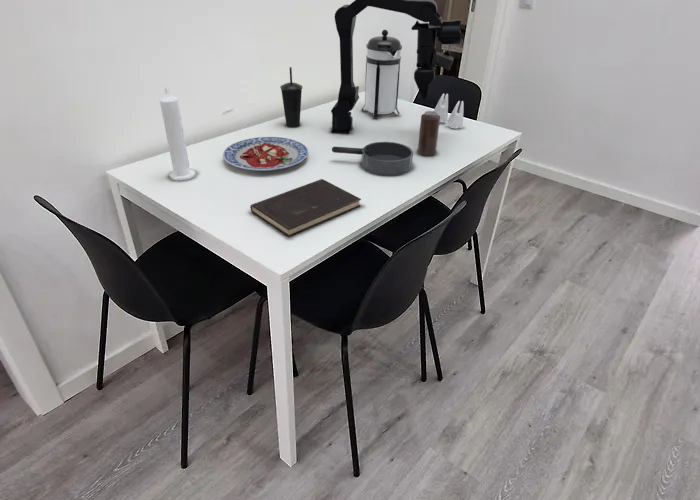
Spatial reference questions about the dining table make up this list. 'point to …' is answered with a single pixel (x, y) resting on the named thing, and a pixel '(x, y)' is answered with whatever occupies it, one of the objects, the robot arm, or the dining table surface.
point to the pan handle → (348, 150)
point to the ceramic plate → (265, 153)
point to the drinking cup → (292, 102)
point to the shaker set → (455, 116)
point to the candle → (175, 138)
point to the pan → (387, 158)
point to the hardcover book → (305, 207)
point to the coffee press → (382, 75)
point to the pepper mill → (428, 133)
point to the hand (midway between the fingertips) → (424, 95)
